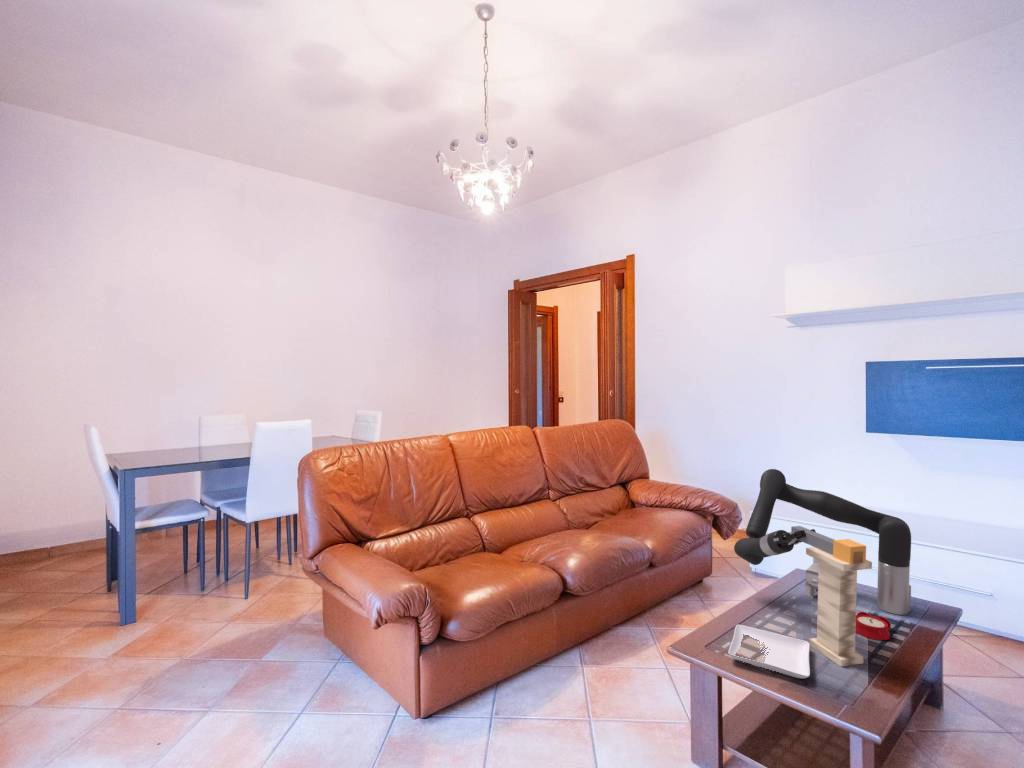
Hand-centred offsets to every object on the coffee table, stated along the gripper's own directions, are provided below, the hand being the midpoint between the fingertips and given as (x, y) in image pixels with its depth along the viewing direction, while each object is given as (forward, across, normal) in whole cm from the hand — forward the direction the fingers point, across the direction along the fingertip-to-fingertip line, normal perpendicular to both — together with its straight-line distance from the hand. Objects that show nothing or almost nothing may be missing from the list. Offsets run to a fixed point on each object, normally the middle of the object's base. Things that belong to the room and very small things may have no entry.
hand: (809, 532), depth 166 cm
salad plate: (-10, -21, +34) cm, 41 cm away
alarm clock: (-16, +24, +31) cm, 42 cm away
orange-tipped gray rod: (+4, 0, +6) cm, 7 cm away
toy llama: (-39, +30, +17) cm, 52 cm away
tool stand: (-8, 0, +35) cm, 36 cm away
